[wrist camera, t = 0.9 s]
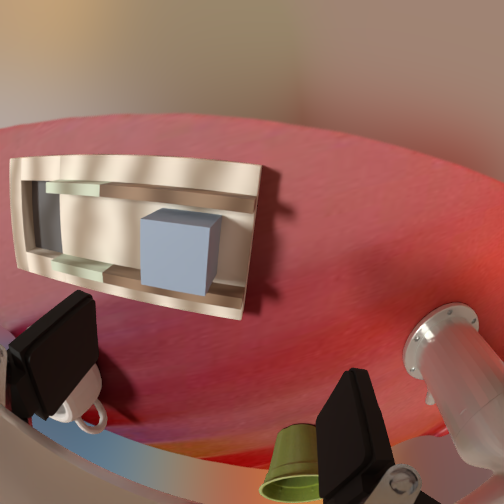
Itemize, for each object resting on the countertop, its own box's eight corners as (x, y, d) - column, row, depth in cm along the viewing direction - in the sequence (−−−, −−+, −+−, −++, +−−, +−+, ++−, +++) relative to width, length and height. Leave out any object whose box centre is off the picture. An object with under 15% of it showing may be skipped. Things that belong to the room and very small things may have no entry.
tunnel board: (262, 165, 28) (258, 166, 23) (243, 308, 33) (238, 333, 28) (21, 157, 29) (-3, 160, 24) (27, 262, 34) (6, 274, 30)
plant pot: (275, 455, 43) (271, 506, 32) (254, 421, 40) (246, 480, 29) (339, 444, 41) (345, 496, 30) (329, 407, 37) (337, 468, 27)
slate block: (222, 214, 27) (209, 227, 22) (216, 273, 29) (204, 296, 24) (162, 207, 27) (140, 218, 23) (161, 264, 29) (141, 284, 25)
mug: (23, 332, 40) (-8, 360, 31) (58, 301, 36) (18, 334, 27) (92, 414, 45) (72, 447, 36) (143, 402, 41) (121, 446, 32)
